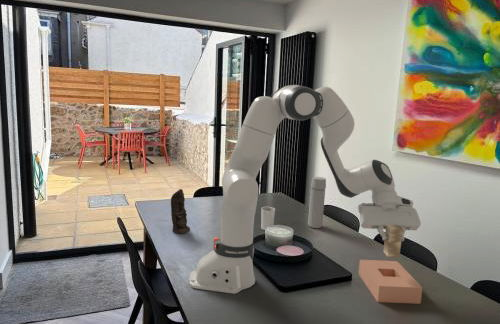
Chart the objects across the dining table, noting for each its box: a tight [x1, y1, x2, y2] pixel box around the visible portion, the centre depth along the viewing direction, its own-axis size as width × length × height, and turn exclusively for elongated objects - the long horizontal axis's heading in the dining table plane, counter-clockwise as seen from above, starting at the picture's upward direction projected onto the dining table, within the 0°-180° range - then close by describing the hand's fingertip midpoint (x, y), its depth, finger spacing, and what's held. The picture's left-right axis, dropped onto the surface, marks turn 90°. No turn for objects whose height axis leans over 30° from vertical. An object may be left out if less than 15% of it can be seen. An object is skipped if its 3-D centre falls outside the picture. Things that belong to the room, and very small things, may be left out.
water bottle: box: [307, 176, 327, 229], centre depth 191 cm, size 9×8×25 cm
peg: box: [382, 225, 403, 258], centre depth 128 cm, size 4×4×10 cm
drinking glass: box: [260, 206, 276, 231], centre depth 184 cm, size 7×7×10 cm
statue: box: [170, 188, 191, 235], centre depth 173 cm, size 7×7×20 cm
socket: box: [357, 259, 423, 305], centre depth 131 cm, size 14×20×6 cm
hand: (393, 240), depth 128 cm, fingers closed on peg, 4 cm apart
